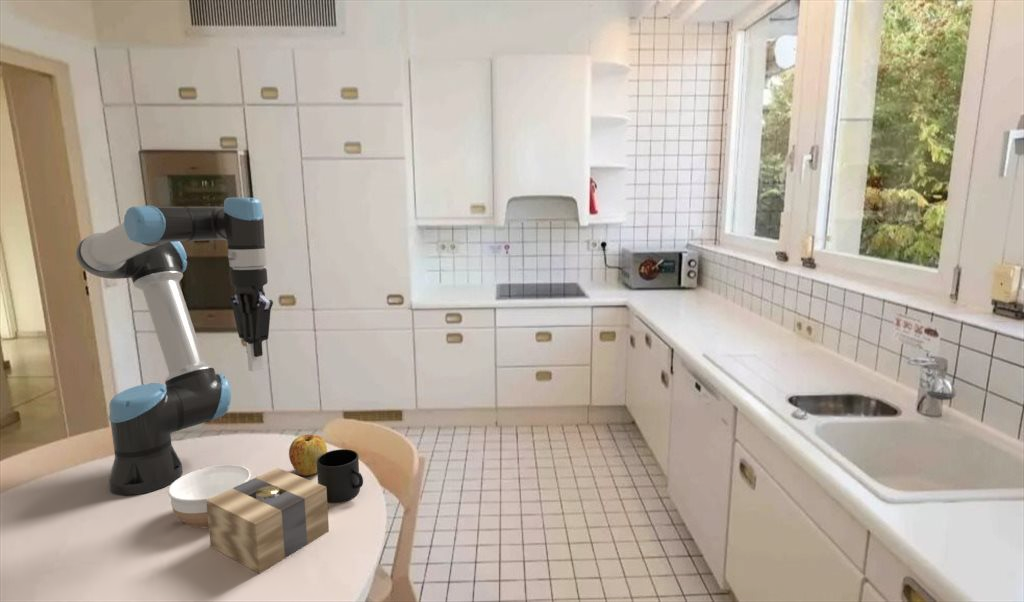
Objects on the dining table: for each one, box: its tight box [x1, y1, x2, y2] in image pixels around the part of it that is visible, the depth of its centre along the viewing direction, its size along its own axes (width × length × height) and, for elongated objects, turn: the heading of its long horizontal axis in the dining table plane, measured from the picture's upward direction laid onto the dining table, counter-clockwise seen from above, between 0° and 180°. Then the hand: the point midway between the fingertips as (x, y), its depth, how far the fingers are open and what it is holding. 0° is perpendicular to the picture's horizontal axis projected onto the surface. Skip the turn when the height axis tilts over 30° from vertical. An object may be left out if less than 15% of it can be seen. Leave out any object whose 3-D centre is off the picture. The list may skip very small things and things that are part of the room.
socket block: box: [206, 467, 330, 574], centre depth 110 cm, size 16×16×10 cm
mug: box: [316, 448, 364, 504], centre depth 128 cm, size 9×12×9 cm
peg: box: [256, 486, 280, 502], centre depth 110 cm, size 4×4×9 cm
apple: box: [288, 434, 328, 477], centre depth 138 cm, size 9×9×10 cm
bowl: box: [167, 464, 252, 529], centre depth 119 cm, size 16×16×8 cm
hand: (255, 369), depth 124 cm, fingers closed
